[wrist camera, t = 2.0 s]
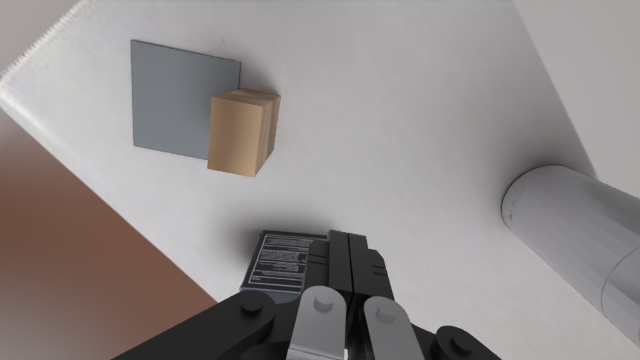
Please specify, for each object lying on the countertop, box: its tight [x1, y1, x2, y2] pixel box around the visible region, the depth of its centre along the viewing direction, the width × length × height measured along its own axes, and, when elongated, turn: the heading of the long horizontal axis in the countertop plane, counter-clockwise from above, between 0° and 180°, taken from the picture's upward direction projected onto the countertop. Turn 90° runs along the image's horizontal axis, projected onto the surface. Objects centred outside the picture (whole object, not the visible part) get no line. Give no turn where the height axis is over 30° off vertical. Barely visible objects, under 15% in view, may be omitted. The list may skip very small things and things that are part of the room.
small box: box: [239, 231, 327, 304], centre depth 34 cm, size 11×6×10 cm, turn 85°
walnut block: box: [207, 89, 281, 177], centre depth 29 cm, size 4×6×9 cm, turn 169°
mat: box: [131, 41, 241, 160], centre depth 33 cm, size 11×11×1 cm
